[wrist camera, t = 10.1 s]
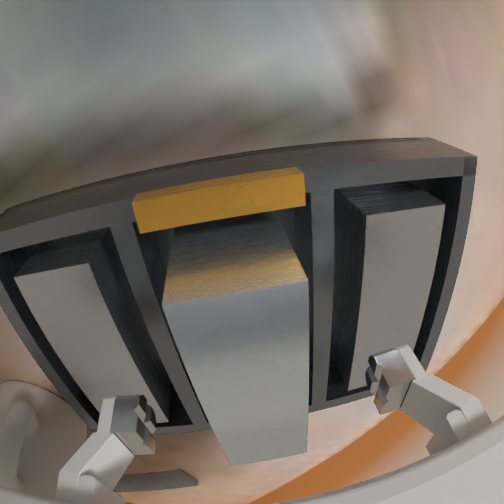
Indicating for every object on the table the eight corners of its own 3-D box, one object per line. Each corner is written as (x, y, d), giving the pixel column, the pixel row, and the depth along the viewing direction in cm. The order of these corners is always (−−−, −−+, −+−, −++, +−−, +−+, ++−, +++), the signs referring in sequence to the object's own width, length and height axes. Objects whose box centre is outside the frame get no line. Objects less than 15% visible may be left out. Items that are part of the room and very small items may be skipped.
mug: (85, 446, 23) (74, 549, 13) (4, 416, 20) (-21, 512, 11) (95, 378, 18) (70, 534, 9) (-14, 333, 15) (-74, 467, 6)
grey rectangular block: (265, 196, 13) (308, 280, 8) (282, 362, 18) (306, 452, 13) (177, 211, 13) (161, 305, 8) (220, 373, 18) (230, 465, 13)
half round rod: (53, 471, 28) (51, 482, 26) (182, 463, 26) (182, 478, 25) (75, 484, 30) (73, 495, 28) (201, 476, 29) (202, 490, 27)
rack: (429, 135, 13) (490, 159, 10) (400, 342, 20) (428, 387, 16) (7, 206, 12) (-41, 249, 8) (104, 393, 19) (95, 446, 15)
